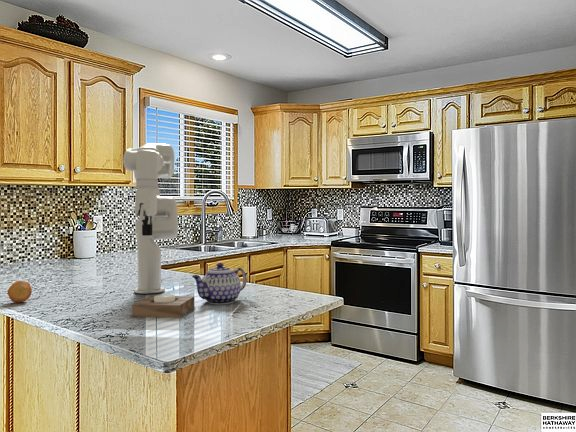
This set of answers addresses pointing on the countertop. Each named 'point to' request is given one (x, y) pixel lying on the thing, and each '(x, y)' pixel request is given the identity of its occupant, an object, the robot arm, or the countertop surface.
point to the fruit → (19, 291)
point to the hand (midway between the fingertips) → (147, 235)
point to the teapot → (220, 285)
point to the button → (164, 298)
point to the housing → (163, 307)
